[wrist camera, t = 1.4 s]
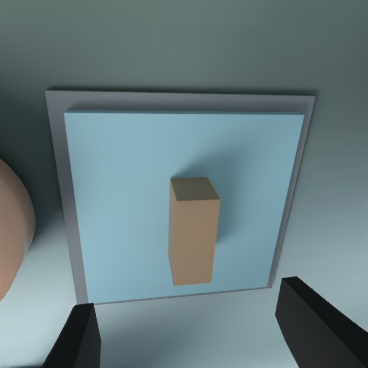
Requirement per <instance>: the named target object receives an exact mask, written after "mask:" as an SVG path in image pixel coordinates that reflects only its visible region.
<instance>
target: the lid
mask: <svg viewBox="0 0 368 368" xmlns="http://www.w3.org/2000/svg"><path fill="white" fill-rule="evenodd" d="M64 118H65V126H66V133H67V141H68V149H69V156H70V164H71V172H72V180H73V187H74V195H75V203H76V210H77V218H78V226H79V233H80V241H81V249H82V257H83V264H84V272H85V280H86V287H87V295H88V303H94V304H95V303H105V302H116V301H126V300H136V299H147V298H157V297H167V296H178V295H188V294H198V293H209V292H219V291H229V290H240V289H250V288H260V287H267V283H268V279H269V274H270V269H271V265H272V260H273V256H274V251H275V247H276V242H277V237H278V233H279V228H280V224H281V219H282V215H283V210H284V205H285V201H286V196H287V192H288V187H289V183H290V178H291V173H292V169H293V164H294V160H295V155H296V151H297V146H298V141H299V137H300V132H301V128H302V123H303V118H304V115H303V114H300V113H298V112H219V111H126V110H66V111H65V112H64Z"/></svg>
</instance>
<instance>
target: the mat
mask: <svg viewBox="0 0 368 368" xmlns="http://www.w3.org/2000/svg"><path fill="white" fill-rule="evenodd" d="M45 96H46V102H47V109H48V115H49V122H50V129H51V135H52V142H53V148H54V155H55V161H56V168H57V174H58V181H59V188H60V194H61V201H62V207H63V214H64V220H65V227H66V233H67V240H68V246H69V253H70V260H71V266H72V273H73V279H74V286H75V292H76V299H77V305H78V304H86V303H88V295H87V287H86V280H85V272H84V264H83V257H82V249H81V241H80V233H79V226H78V218H77V210H76V203H75V195H74V187H73V180H72V172H71V164H70V156H69V149H68V141H67V133H66V126H65V118H64V112H65V111H66V110H126V111H219V112H298V113H300V114H303V115H304V118H303V123H302V128H301V132H300V137H299V141H298V146H297V151H296V155H295V160H294V164H293V169H292V173H291V178H290V183H289V187H288V192H287V196H286V201H285V205H284V210H283V215H282V219H281V224H280V228H279V233H278V237H277V242H276V247H275V251H274V256H273V260H272V265H271V269H270V274H269V279H268V283H267V287H260V288H250V289H240V290H229V291H219V292H209V293H198V294H188V295H178V296H167V297H157V298H147V299H136V300H126V301H116V302H105V303H95V304H94V305H100V304H110V303H120V302H130V301H141V300H151V299H161V298H171V297H182V296H192V295H202V294H212V293H223V292H233V291H243V290H253V289H264V288H272V285H273V280H274V276H275V272H276V267H277V263H278V258H279V254H280V250H281V245H282V241H283V237H284V232H285V228H286V223H287V219H288V215H289V210H290V206H291V202H292V197H293V193H294V188H295V184H296V180H297V175H298V171H299V167H300V162H301V158H302V153H303V149H304V145H305V140H306V136H307V132H308V127H309V123H310V119H311V114H312V110H313V105H314V101H315V97H316V96H312V95H266V94H220V93H173V92H127V91H80V90H45Z"/></svg>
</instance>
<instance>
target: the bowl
mask: <svg viewBox="0 0 368 368" xmlns="http://www.w3.org/2000/svg"><path fill="white" fill-rule="evenodd" d="M34 232H35V212H34V208H33V204H32V201H31V198H30V196H29V194H28V192H27V189H26V188H25V186H24V185H23V183H22V181H21V180H20V179H19V177H18V176H17V175H16V174H15V172H14V171H13V170H12V169H11V168H10V167H9V166H8V165H7V164H6V163H5V162H4V161H3V160H2V159H1V158H0V301H1V300H2V299H3V297H4V296H5V295H6V293H7V292H8V290H9V288H10V287H11V284H12V282H13V280H14V278H15V276H16V274H17V272H18V270H19V268H20V266H21V264H22V262H23V260H24V258H25V256H26V254H27V252H28V250H29V248H30V245H31V243H32V240H33V237H34Z"/></svg>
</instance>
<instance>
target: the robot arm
mask: <svg viewBox="0 0 368 368" xmlns="http://www.w3.org/2000/svg"><path fill="white" fill-rule="evenodd" d="M275 316H276V318H277V321H278V324H279V326H280V329H281V331H282V334H283V336H284V339H285V341H286V343H287V345H288V347H289V349H290V351H291V353H292V355H293V357H294V359H295V360H296V362H297V364H298V366H299V368H368V332H366V331H365V330H363V329H362V328H361V327H359V326H358V325H357V324H355V323H354V322H353V321H351V320H350V319H349V318H348V317H346V316H345V315H344V314H342V313H341V312H340V311H339V310H337V309H336V308H335V307H334V306H332V305H331V304H330V303H329V302H327V301H326V300H325V299H324V298H323V297H321V296H320V295H319V294H318V293H316V292H315V291H314V290H313V289H312V288H310V287H309V286H308V285H307V284H306V283H304V282H303V281H302V280H301V279H299V278H298V277H297V276H295V277H287V278H282V281H281V286H280V291H279V297H278V302H277V307H276V313H275ZM100 348H101V339H100V334H99V329H98V323H97V318H96V313H95V308H94V303H86V304H78V305H75V306H74V307H73V309H72V311H71V313H70V315H69V317H68V319H67V321H66V323H65V325H64V327H63V329H62V331H61V333H60V335H59V337H58V339H57V341H56V342H55V344H54V346H53V348H52V349H51V351H50V353H49V355H48V356H47V358H46V360H45V362H44V363H43V365H42V367H41V368H100Z"/></svg>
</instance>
